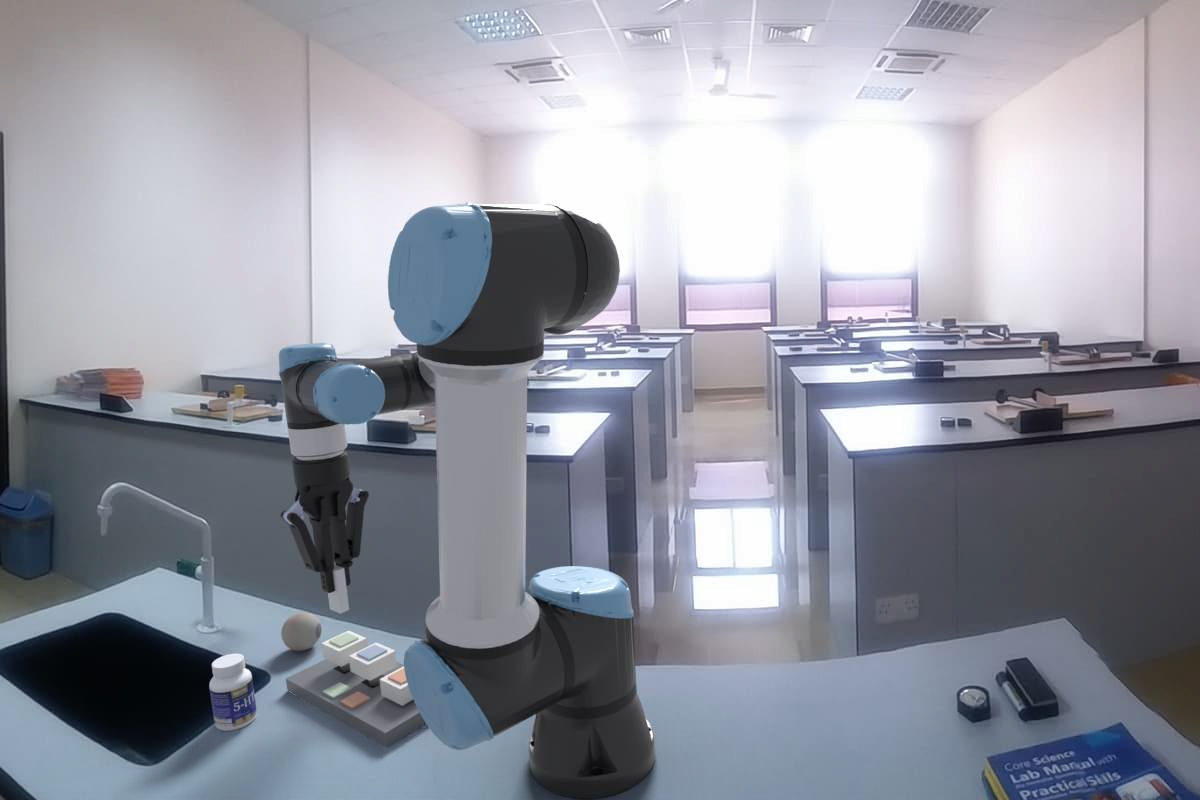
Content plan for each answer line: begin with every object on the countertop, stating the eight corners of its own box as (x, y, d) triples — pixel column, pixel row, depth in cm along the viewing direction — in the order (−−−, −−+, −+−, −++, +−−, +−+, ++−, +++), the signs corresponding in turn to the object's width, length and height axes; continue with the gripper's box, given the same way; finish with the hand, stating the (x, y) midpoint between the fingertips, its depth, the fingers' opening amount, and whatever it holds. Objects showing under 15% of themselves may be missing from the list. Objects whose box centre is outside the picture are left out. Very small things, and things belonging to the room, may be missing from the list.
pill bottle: (241, 733, 102) (231, 671, 101) (206, 730, 103) (196, 670, 102) (265, 710, 107) (256, 651, 106) (232, 708, 109) (223, 650, 107)
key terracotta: (431, 703, 106) (427, 672, 105) (404, 719, 102) (400, 687, 102) (410, 693, 109) (406, 662, 108) (383, 708, 105) (379, 677, 104)
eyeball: (315, 656, 122) (310, 621, 121) (277, 658, 122) (272, 623, 121) (329, 638, 128) (324, 605, 127) (292, 640, 128) (288, 606, 127)
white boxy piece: (398, 679, 110) (395, 649, 109) (371, 694, 106) (367, 663, 106) (379, 670, 113) (376, 640, 112) (352, 684, 109) (348, 654, 109)
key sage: (369, 665, 114) (366, 636, 114) (342, 679, 111) (338, 649, 110) (352, 657, 117) (348, 628, 116) (325, 670, 114) (321, 641, 113)
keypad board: (459, 702, 106) (457, 687, 106) (387, 747, 97) (385, 730, 97) (358, 655, 121) (356, 642, 121) (287, 691, 112) (285, 676, 112)
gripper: (345, 440, 116) (362, 587, 120) (262, 461, 106) (284, 620, 110) (374, 446, 111) (392, 598, 115) (290, 467, 101) (313, 634, 105)
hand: (339, 609), depth 113 cm, fingers closed
